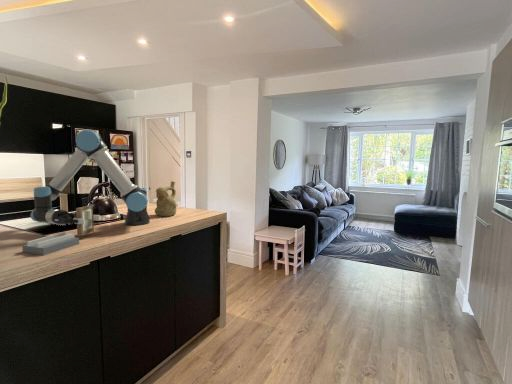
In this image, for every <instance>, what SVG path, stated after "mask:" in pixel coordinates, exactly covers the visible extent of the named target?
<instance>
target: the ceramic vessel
mask: <svg viewBox="0 0 512 384" xmlns="http://www.w3.org/2000/svg"><path fill="white" fill-rule="evenodd" d="M175 183H176V181H173V180H172V181H170V186H166V187H163V186H161V187H158V188H156V190H155V192H156V198H157V199H156V203H155V204H156V208H155V209H154V213H155V215H156V216H158V215H159V217H166V216H167V217H171V216H172V215H173V216H175V215H176V214H177V207H178V206H177V202H176V200H175V197H176V194H177V193H176V189H175V185H176V184H175ZM168 191H171V195H170V194H169V192H168ZM173 216H172V217H173Z"/></svg>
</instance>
